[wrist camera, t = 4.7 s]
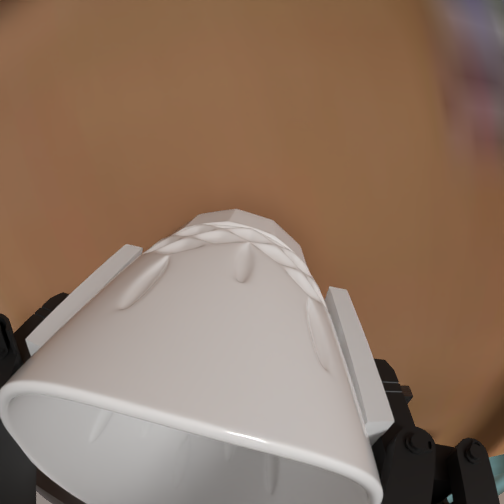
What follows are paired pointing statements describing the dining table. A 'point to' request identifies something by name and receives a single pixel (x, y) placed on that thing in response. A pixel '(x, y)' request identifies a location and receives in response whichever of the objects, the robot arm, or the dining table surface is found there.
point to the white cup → (199, 381)
